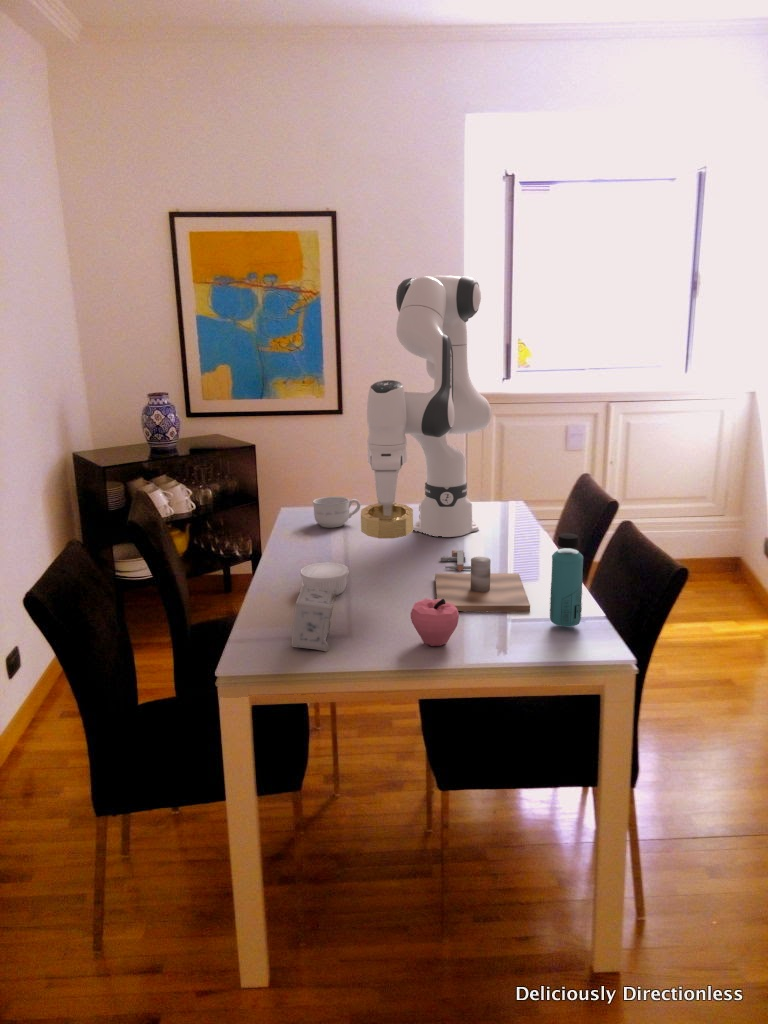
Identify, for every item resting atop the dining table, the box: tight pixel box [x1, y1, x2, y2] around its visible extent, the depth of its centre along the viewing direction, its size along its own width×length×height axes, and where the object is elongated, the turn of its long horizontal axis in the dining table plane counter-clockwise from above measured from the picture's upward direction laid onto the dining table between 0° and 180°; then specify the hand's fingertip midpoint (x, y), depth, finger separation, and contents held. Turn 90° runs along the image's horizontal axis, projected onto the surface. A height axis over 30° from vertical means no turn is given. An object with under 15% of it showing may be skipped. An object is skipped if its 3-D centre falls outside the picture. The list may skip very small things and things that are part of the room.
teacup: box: [312, 496, 361, 529], centre depth 239 cm, size 14×11×8 cm
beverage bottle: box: [549, 532, 584, 627], centre depth 164 cm, size 6×7×20 cm
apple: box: [410, 598, 460, 647], centre depth 159 cm, size 10×9×10 cm
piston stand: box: [434, 556, 531, 613], centre depth 184 cm, size 20×20×8 cm
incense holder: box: [290, 585, 337, 652], centre depth 161 cm, size 10×8×10 cm
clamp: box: [440, 549, 471, 571], centre depth 204 cm, size 15×2×10 cm
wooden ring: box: [360, 502, 414, 539], centre depth 181 cm, size 12×12×4 cm
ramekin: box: [299, 561, 350, 597], centre depth 189 cm, size 11×11×5 cm
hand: (387, 513), depth 186 cm, fingers closed on wooden ring, 2 cm apart
